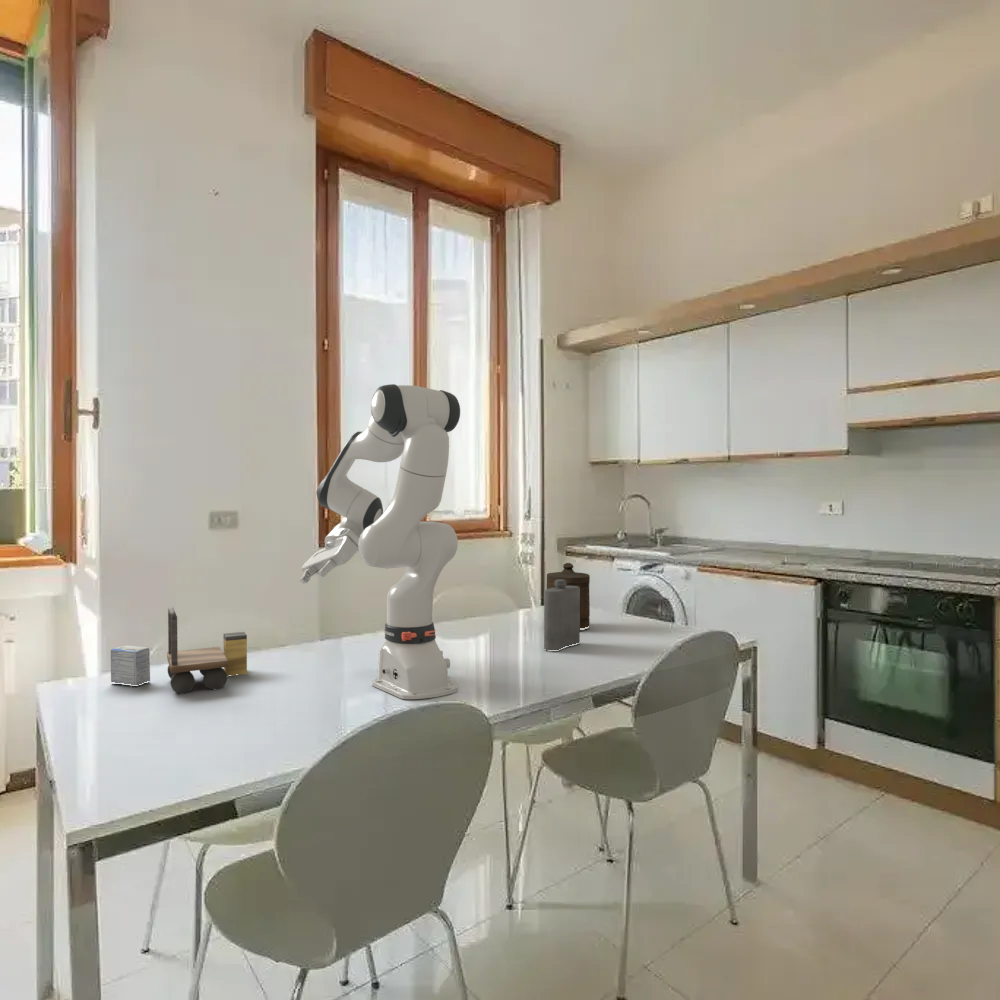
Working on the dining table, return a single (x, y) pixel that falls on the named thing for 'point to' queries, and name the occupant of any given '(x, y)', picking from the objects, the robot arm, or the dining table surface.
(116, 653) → the grey wood-grain block
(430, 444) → the robot arm
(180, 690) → the trolley
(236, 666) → the chock block
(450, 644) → the dining table surface
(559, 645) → the flask
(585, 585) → the wooden container
